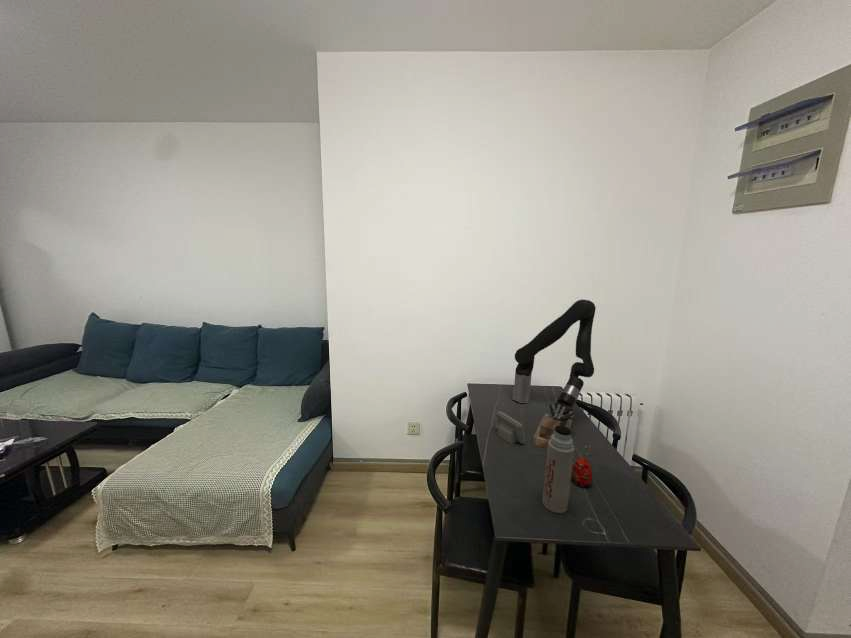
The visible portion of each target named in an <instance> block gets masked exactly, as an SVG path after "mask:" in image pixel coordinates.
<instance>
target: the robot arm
mask: <svg viewBox="0 0 851 638" xmlns="http://www.w3.org/2000/svg"><path fill="white" fill-rule="evenodd" d="M595 313H596V305H595V303H594V302H593V301H591V300H589V299H578V300H576V301H575V302H574V303H572V305H571V306H570V307H569V308H568V309H567V310H566V311H565V312H564V313H562V314H561V315H560V316H559V317H557V318H556V319H555V320H554V321H552V322H550V324H548V325H547V326H545V327H544V328H543V329H542V330H541V331H540V332H539V333H537V335H535V336H534V337H533V339H532V340H530V341H529V342H528V343H526V344H525V345H523V346H522V347H520V348H518V349H517V350H516V352H514V353H515V354H514V360H515V361H516V363H517V365H516V367H515V372H514V384H513V385H512V395H511V396H512V398H511V399H514V400H515V401H517V402H521V403H526V402H530V395H531V385H532V383H531V382H532V373H533V370H534V364H535V356H536V355H537V354H539V353H540V352H541V351H543V350H545V349H547V348H548V347H550V346H552V345H554V343H556V342H557V341H558V340H560V339H561V338H563V336H564V335H565V334H566V333H567V332H568V330H569V329H570V328H571V327H572V326H573V325H574V324H575V323H578V321H579V327H578V333H577V336H576V338H575V339H576V341H575V357H576V358H577V359H580V360H582V362H580V361H576V362H574V363H573V364H572V365H571V368H570V374H569V378H568V380H567V383H565V386H564V387H563V389H562V391H561V393H560V394H559V397H558V399H557V401H556V402H555V403H554V404H551V403H550V404H548V406H549V411H550V415H551V417H552V419H555V420H558V421H561V422H567V420H572V419H574V418H575V414H574V413H573V408H574V406H575V404H576V402H577V400H578V398H579V395H580V392H581V391H582V389H583V387H584V384H585V383H584V380H583V379H582V378H580V377H583V378H592V376H594V374H595V367H594V363H593V359H592V355H591V354H592V330H593V324H594V318H595ZM515 401H514V402H515ZM517 402H516V403H517Z"/></svg>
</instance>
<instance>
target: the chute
mask: <svg viewBox="0 0 851 638" xmlns="http://www.w3.org/2000/svg"><path fill="white" fill-rule="evenodd" d="M548 417H549V418H550V414H549V413H544V415H543V417H542V418H541V421H540V422H539V425H538V427H537V430H536V431H535V433H534V435H533V440H532V446H536V447H537V446H538V447H540V448H544V449H546V450H548V442H549V439H545V438H542V437H539V435H540V425H541V424H542V423H543V422H544V421H545V420H546V419H547V418H548ZM565 422H566V423H565V425H564V426H565V427H567V428H569V429H570V430H571V427H572V422H573V421H572V419H569V420H567V421H565Z"/></svg>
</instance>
